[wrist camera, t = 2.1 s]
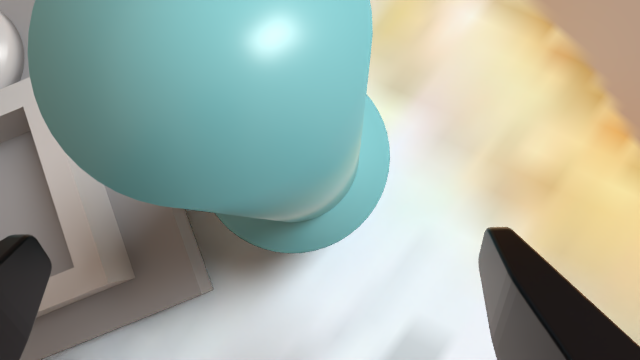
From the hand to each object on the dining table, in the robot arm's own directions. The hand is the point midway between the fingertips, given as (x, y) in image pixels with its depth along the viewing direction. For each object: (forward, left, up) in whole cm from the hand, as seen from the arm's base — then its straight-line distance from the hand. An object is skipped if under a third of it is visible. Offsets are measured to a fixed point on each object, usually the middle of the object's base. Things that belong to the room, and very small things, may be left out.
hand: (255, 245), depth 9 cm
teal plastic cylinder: (+3, +1, -10) cm, 11 cm away
